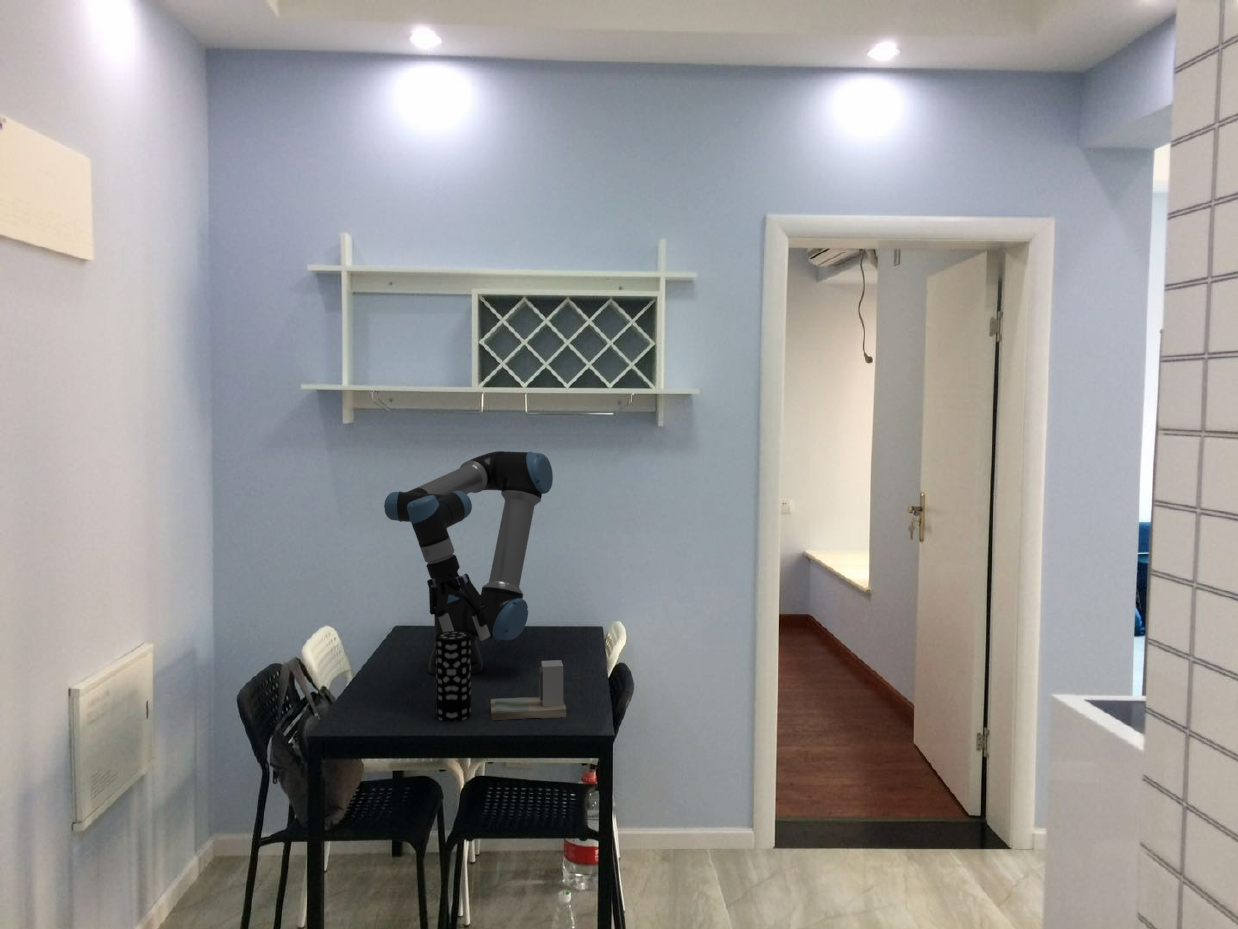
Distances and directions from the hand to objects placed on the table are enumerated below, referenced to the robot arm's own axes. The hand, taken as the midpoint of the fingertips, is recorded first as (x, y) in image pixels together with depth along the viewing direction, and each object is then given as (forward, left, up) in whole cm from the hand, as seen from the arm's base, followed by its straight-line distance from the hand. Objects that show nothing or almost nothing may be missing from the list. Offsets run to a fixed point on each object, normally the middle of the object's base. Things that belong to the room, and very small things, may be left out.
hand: (468, 639), depth 228 cm
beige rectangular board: (+4, +14, -18) cm, 23 cm away
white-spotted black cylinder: (+4, -4, -18) cm, 19 cm away
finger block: (+4, +20, -16) cm, 26 cm away
